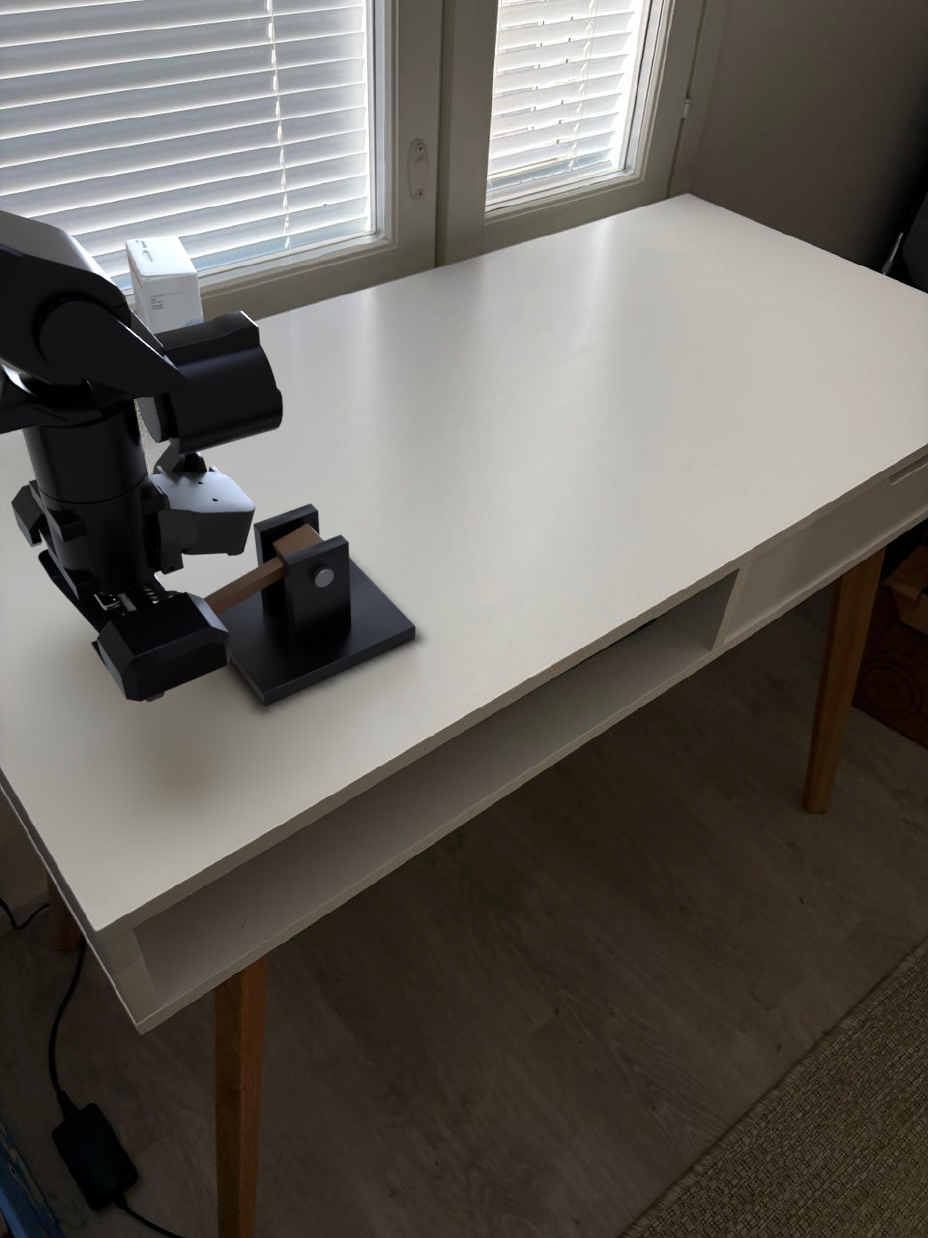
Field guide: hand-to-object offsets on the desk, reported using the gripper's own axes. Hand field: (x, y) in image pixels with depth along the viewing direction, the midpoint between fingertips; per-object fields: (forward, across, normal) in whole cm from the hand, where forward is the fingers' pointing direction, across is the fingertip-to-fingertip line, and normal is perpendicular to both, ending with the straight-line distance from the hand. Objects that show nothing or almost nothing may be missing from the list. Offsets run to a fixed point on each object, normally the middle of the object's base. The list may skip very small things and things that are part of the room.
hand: (138, 672), depth 65 cm
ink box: (+2, +38, -19) cm, 42 cm away
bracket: (+2, 0, -12) cm, 13 cm away
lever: (-2, 0, -7) cm, 7 cm away
